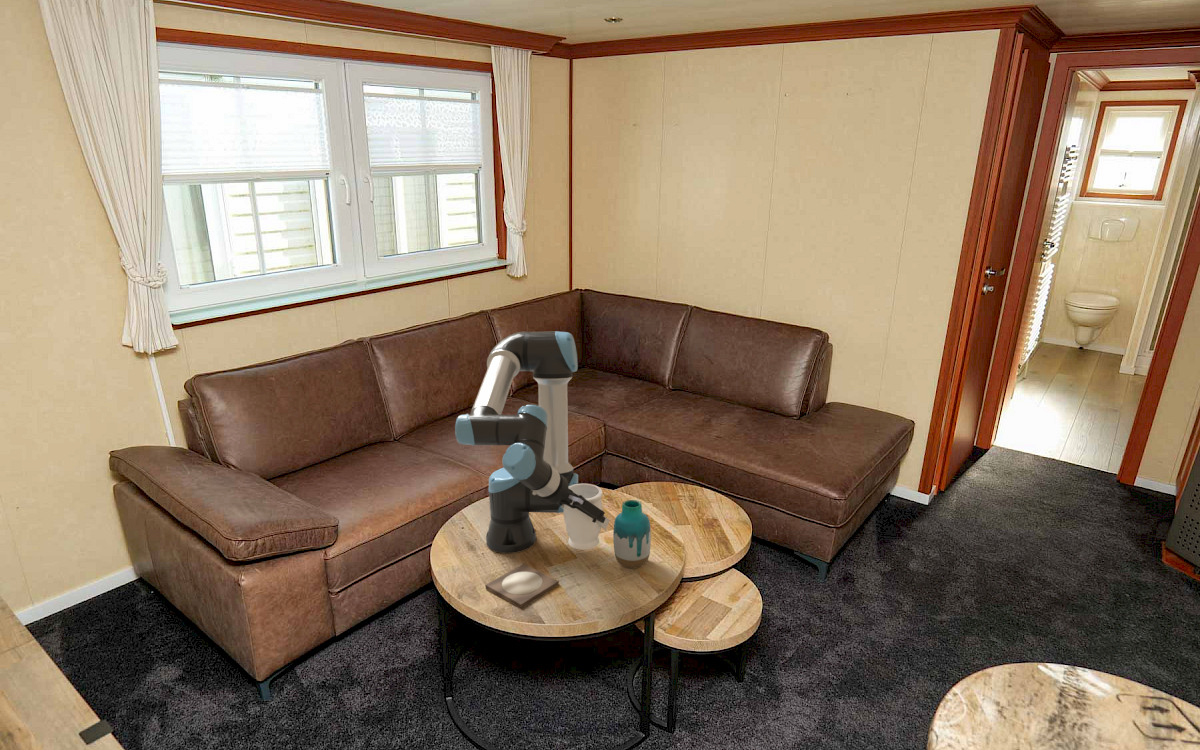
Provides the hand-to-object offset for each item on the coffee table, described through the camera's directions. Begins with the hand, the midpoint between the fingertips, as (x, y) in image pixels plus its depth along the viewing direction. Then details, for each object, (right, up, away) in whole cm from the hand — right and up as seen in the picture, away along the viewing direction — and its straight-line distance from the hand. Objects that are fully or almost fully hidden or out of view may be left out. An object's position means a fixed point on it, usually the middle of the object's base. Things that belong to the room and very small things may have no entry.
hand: (591, 518), depth 186 cm
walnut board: (-19, -19, +2) cm, 27 cm away
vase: (+12, -16, +13) cm, 24 cm away
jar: (-2, -7, 0) cm, 7 cm away
